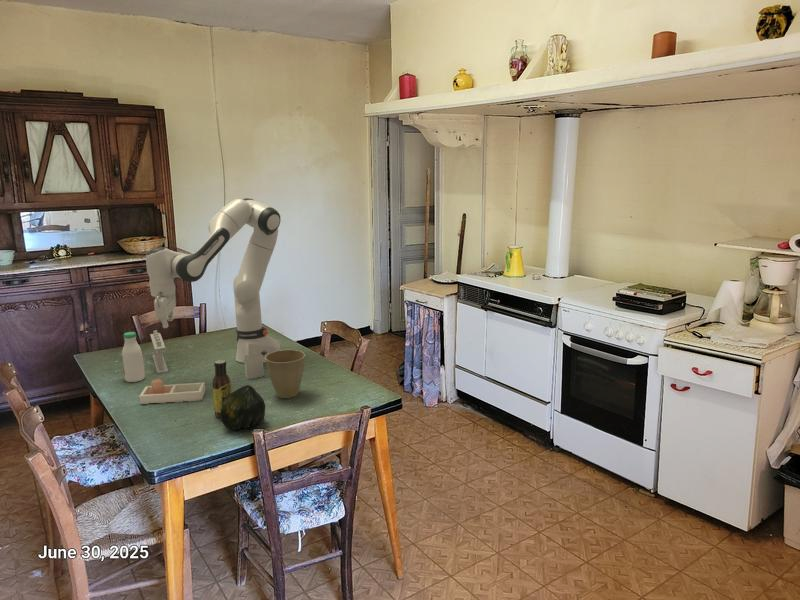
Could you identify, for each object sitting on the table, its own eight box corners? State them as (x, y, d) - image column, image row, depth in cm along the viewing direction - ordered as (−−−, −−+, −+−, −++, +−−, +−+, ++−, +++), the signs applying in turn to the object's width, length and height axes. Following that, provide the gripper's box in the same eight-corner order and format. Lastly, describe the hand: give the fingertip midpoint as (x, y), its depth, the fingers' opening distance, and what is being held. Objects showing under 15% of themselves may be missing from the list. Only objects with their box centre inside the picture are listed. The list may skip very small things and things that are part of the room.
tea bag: (263, 376, 254) (262, 353, 251) (247, 379, 250) (246, 356, 248) (260, 374, 257) (259, 351, 254) (245, 377, 253) (243, 354, 251)
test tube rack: (168, 372, 261) (165, 342, 258) (157, 373, 259) (153, 344, 256) (162, 355, 283) (159, 328, 280) (152, 357, 281) (149, 329, 278)
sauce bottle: (225, 419, 213) (220, 365, 208) (211, 417, 215) (205, 363, 210) (236, 412, 218) (232, 359, 214) (222, 410, 221) (217, 357, 216)
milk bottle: (149, 377, 255) (143, 331, 250) (134, 383, 248) (128, 336, 243) (135, 374, 258) (130, 329, 253) (120, 381, 251) (114, 334, 246)
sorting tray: (205, 390, 239) (204, 382, 238) (201, 400, 230) (200, 391, 229) (146, 394, 236) (145, 386, 235) (140, 405, 226) (139, 396, 225)
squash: (206, 412, 206) (225, 385, 199) (239, 398, 218) (258, 373, 211) (229, 445, 202) (249, 419, 195) (261, 429, 215) (281, 405, 207)
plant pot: (262, 392, 236) (259, 353, 232) (298, 385, 243) (296, 347, 240) (275, 406, 224) (272, 364, 220) (313, 397, 231) (311, 357, 227)
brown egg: (165, 393, 234) (163, 378, 233) (163, 397, 230) (160, 382, 229) (155, 394, 234) (153, 379, 232) (152, 398, 230) (149, 383, 228)
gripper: (165, 295, 225) (171, 330, 229) (176, 283, 245) (181, 316, 248) (147, 297, 224) (153, 332, 228) (160, 285, 244) (165, 318, 247)
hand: (168, 324), depth 238 cm, fingers open, 8 cm apart
